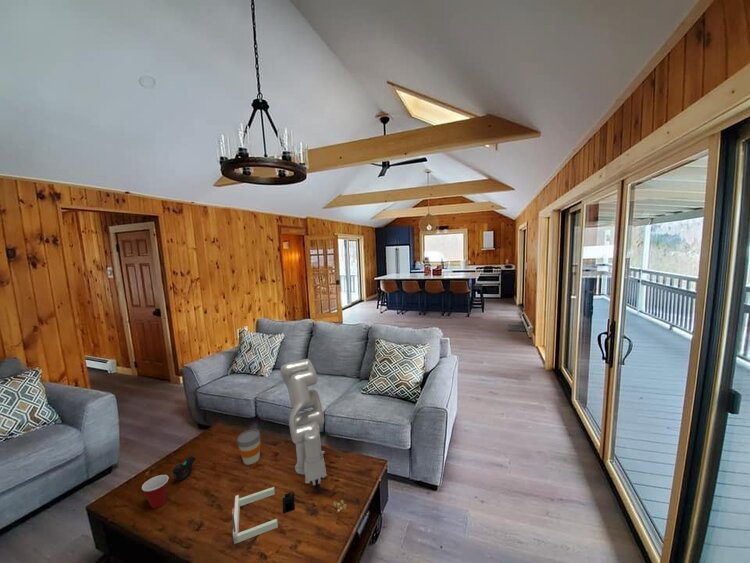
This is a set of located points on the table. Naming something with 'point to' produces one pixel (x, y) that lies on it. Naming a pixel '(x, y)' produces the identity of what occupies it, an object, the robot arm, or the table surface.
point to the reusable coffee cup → (249, 446)
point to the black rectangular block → (288, 503)
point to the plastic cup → (156, 490)
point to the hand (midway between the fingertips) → (317, 489)
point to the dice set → (339, 505)
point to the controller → (183, 468)
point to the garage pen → (255, 530)
